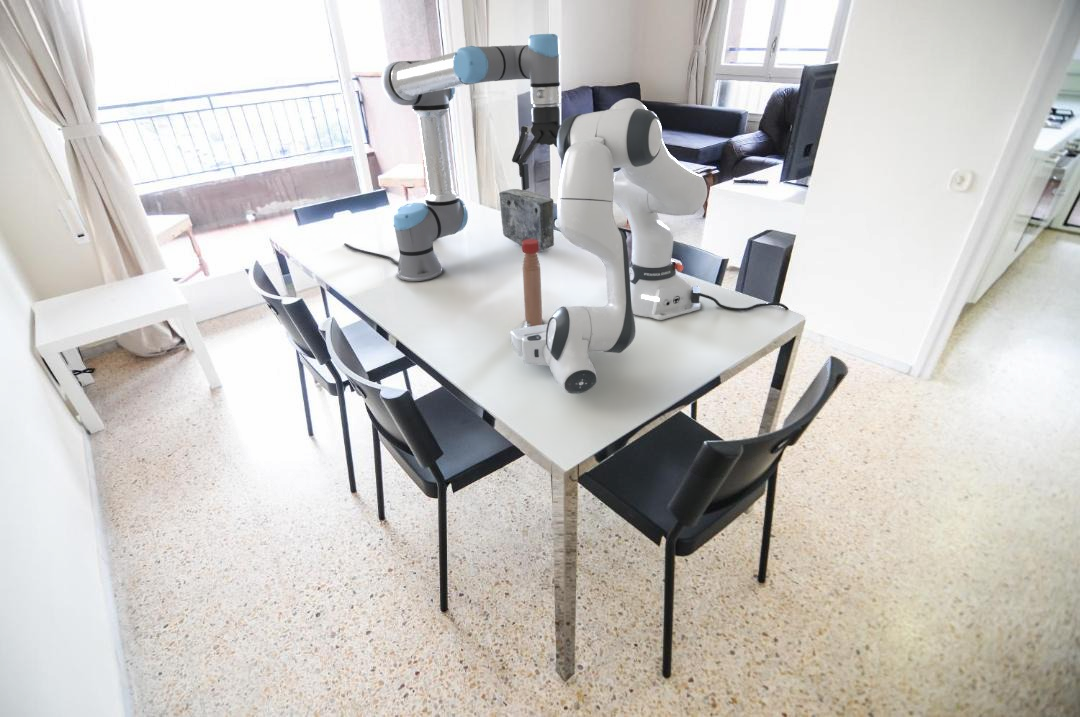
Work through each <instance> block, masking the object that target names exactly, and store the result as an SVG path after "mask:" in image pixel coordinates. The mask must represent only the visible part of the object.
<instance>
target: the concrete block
mask: <svg viewBox="0 0 1080 717" xmlns="http://www.w3.org/2000/svg"><path fill="white" fill-rule="evenodd" d="M498 196H499V206H500V216H501V226H502V234H503V236H504V237H506V238H507V239H509V240H511V241H512V242H514V243H515V244H518V245H519V246H521V247H522V241H523V240H526V239H536V240H538V243H539V252H542V251H545V250H547V249H549V248H551V247H554V245H555V233H554V232H555V230H554V229H555V228H554V226H555V225H554V221H555V220H554V217H555V216H554V215H555V214H554V213H555V212H554V208H555V207H554V199H553V198H552V197H549V196H547V195H543V194H541V193H537V192H533V191H530V190H523V189H520V188H510V189H505V190H503V191H500V192H499V193H498Z"/></svg>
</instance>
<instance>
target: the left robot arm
mask: <svg viewBox="0 0 1080 717" xmlns="http://www.w3.org/2000/svg"><path fill="white" fill-rule="evenodd" d="M560 73H561V50H560V38H559V36H558V35H557V34H556V33H538V34H530V35H529V36H528V44H524V45H522V44H521V45H520V44H519V45H518V44H517V45H509V44H508V45H491V46H475V45H469V46H463V47H460V48H458V49H457V50H456V51H455V52H454V51H453V52H450V53H447V54H443V55H439V56H435V57H431V58H427V59H420V60H398V61H395V62H391V63H390V64H388V65H387V66H386V67H385V68H384V70H383V71H382V74H381V87H382V89H383V90H382V91H383V92H384V94H385V96H386V97H387V98H388V99H389V100H390V101H391V102H393V103H394V104H397V105H401V106H411V109H412V111H413V113H414V114H415V115H416V116H417V117H418V125H419V131H420V139H421V146H422V153H423V160H424V161H423V162H424V167H425V175H426V182H427V189H428V193H427V194H426V196H425V197H424V200H425V203H424V202H413V203H407V204H404V205H402V206H399V207H397V209H395V210H394V212H393V214H392V219H393V228H394V230H395V231H394V232H395V236H396V241H397V247H398V251H399V259H398V261H397V260H396V259H394V258H393V257H391V256H389V255H385V254H381V253H377V252H372V251H368V250H364V249H361V248H356V247H354V246H352V245H350V244H348V243H343V245H344V246H345V247H347V248H348V249H350V250H352V251H355V252H359V253H362V254H366V255H371V256H375V257H380V258H384V259H388V260H390V261H391V262H393V264H395V265H397V276H398V278H399V279H400V280H402V281H406V282H413V283H414V282H425V281H429V280H432V279H435V278H438V277H439V276H440V275H441V274H442V273H443V268H442V264H441V263H440V260H439V259H438V257H439V256H438V253H436V252H435V250H434V243H433V241H435V240H438V239H442V238H445V237H448V236H452V235H456V234H457V233H459V232H461V231H463V230H464V229H465V227H466V226H467V224H468V220H469V214H468V208H467V206H466V205H465V202H464V200H462V199H461V198H460V195H459V194H458V193H457V192H456V191H455V190H454V189H455V188H454V180H453V171H452V163H451V153H450V144H449V135H448V128H447V127H448V126H447V119H446V115H447V113H448V112H449V110H450V101H452V100H453V99H454V97H455V93H456V88H459V87H463V86H468V85H475V84H480V83H487V82H501V81H502V82H503V81H514V80H529V82H530V84H529V85H530V103H531V104H532V107H531V126H529V125H528V124H526V125H523V126H521V128H520V136H519V139H518V142H517V144H516V147H515V150H514V153H513V155H512V158H511V162H512V163H514V164H517V165H518V173H519V174H518V175H519V178H521V179H522V180H521V182H522V190H524V191H527V190H529V189H530V175H529V173H530V172H529V164H528V163H527V161H528V159H529V158H530V157H531V155H532V154H533V152H534V151H535V149H536V148H537V146H539V145H540V146H544V145H547V146H552V145H553V146H554V147H555V148H557V134H558V130H559V128H560V126H561V125H562V123H561V121H562V120H561V119H562V118H561V117H562V116H561V114H562V113H561V111H562V110H561V106H560V105H559V104H560V103H561V82H560V80H561V78H560V77H561V76H560V75H561V74H560ZM531 134H532V136H533V138H532V139H531V141H530V143H529V145H528V146H527V147H526V149H525V146H526V143H527V141H528V138H529V135H531ZM524 149H525V151H524Z"/></svg>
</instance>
